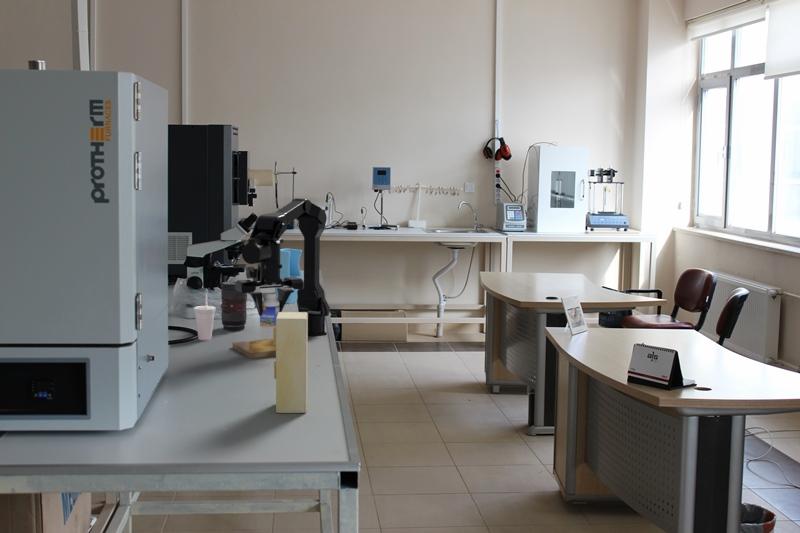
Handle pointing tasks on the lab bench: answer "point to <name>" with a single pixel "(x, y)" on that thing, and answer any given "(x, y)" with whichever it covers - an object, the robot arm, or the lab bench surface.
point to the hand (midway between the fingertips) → (269, 314)
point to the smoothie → (205, 320)
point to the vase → (290, 269)
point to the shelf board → (256, 348)
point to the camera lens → (233, 307)
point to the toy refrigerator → (291, 361)
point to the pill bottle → (269, 310)
